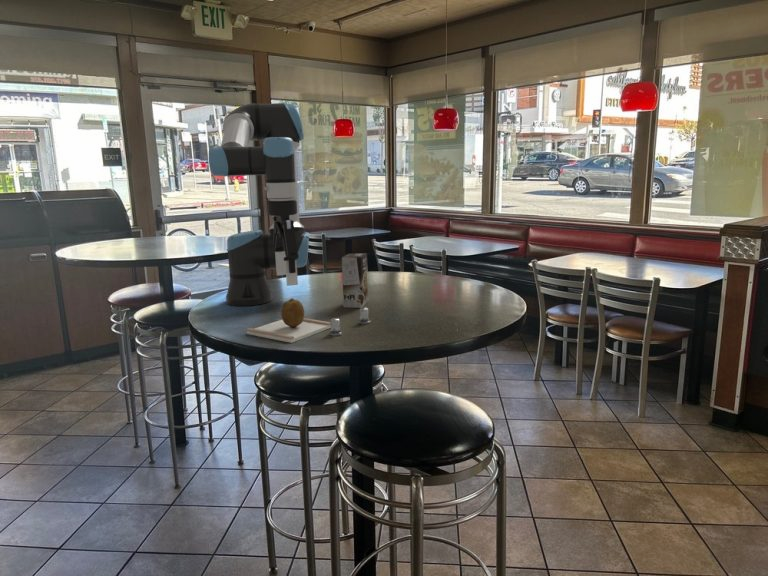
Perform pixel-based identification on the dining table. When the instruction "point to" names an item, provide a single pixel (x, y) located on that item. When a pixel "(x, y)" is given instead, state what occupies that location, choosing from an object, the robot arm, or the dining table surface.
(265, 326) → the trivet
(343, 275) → the coffee box
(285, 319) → the fruit
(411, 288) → the dining table surface
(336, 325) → the pins
